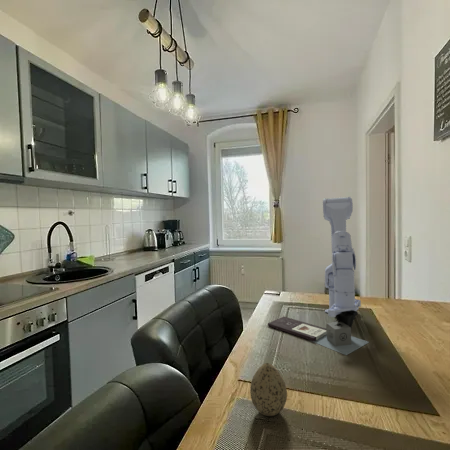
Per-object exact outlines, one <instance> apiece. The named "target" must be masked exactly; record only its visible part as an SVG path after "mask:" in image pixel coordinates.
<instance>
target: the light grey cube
mask: <svg viewBox="0 0 450 450" xmlns="http://www.w3.org/2000/svg"><path fill="white" fill-rule="evenodd" d="M325 324H326V325H325V326H326V330H327V340H328V341H330V342H331V343H332V344H333V345H334V346H343V345H350V344H351V336H352V328H351V327H349V326H348V325H346V324H345V323H343V322H338V321H332V322H326V323H325Z"/></svg>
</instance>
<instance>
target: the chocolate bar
mask: <svg viewBox="0 0 450 450" xmlns="http://www.w3.org/2000/svg"><path fill="white" fill-rule="evenodd" d="M267 327H269V328H273V329H276V330H278V331H282V332H284V333H287V334H291V335H293V336H297V337H299V338H303V339H305V340H308V341H310V340H311V341H310V342H312V341H315V340H317V339H319V338H321V337H322V336H324V335H326V334H327V330H326V328H325V327H321V326H318V325H315V324H311V323H308V322H304V321H301V320H298V319H294V318H290V317H288V316H287V317H286V316H282V317H279V318H277V319H274V320H273V321H269V322H268V323H267Z"/></svg>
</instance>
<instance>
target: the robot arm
mask: <svg viewBox="0 0 450 450" xmlns="http://www.w3.org/2000/svg"><path fill="white" fill-rule="evenodd" d="M353 205H354V204H353V198H352V197H351V196H347V197H346V196H345V197H331V198H325V197H324V198H323V199H322V213H323V214H322V215H323V218H324V219H323V220H325V221H328V222H329V224H330V229H331V230H330V232H331V234H330V235H331V236H330V238H331V239H330V240H331V242H330V243H331V263H330V264H329V265H327V266H326V267H325V269H324V286H325V288H326V289H328V302H329V303H328V306H329V307H328V309H325V310H324V313H327V316H328V317H330V318H335V319H336V322H343V323H345V324H346V325H348V326H349V327H351V329H352V328H353V323H354V321H355V319H356V317H357V315H358V312H357V311H358V310H359V308H360V307H361V306H362V302H361V299H357V298H356V296H355V295H356V294H355V290H356V289H355V271H356V267H357V256H356V254H355V250H354V248H353V244H352V238H351V237H352V236H351V234H350V233H349V232H347V221H348V220H349V219H350V218H351V216H352V213H353V209H354V208H353V207H354V206H353Z"/></svg>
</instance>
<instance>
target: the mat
mask: <svg viewBox="0 0 450 450" xmlns="http://www.w3.org/2000/svg"><path fill="white" fill-rule="evenodd" d="M309 342H312V343H315V344H316V345H319V346H321V347H324V348H327V349H329V350H332V351H334V352H337V353H340V354H342V355H344V356H348V355H349V354H351V353H354V352H355V351H357V350H358V349H360V348H362V347H365V345H368V344H369V343H370V341H367V340H364V339H361V338H358V337H355V336H354V335H353V336H352V335H351V344H350V345H343V346H334V345H333V344H332V343H331V342H330V341H328V340H327V334H326V335H324V336H322V337H321V338H319V339H317V340H315V341H311V340H309Z"/></svg>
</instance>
